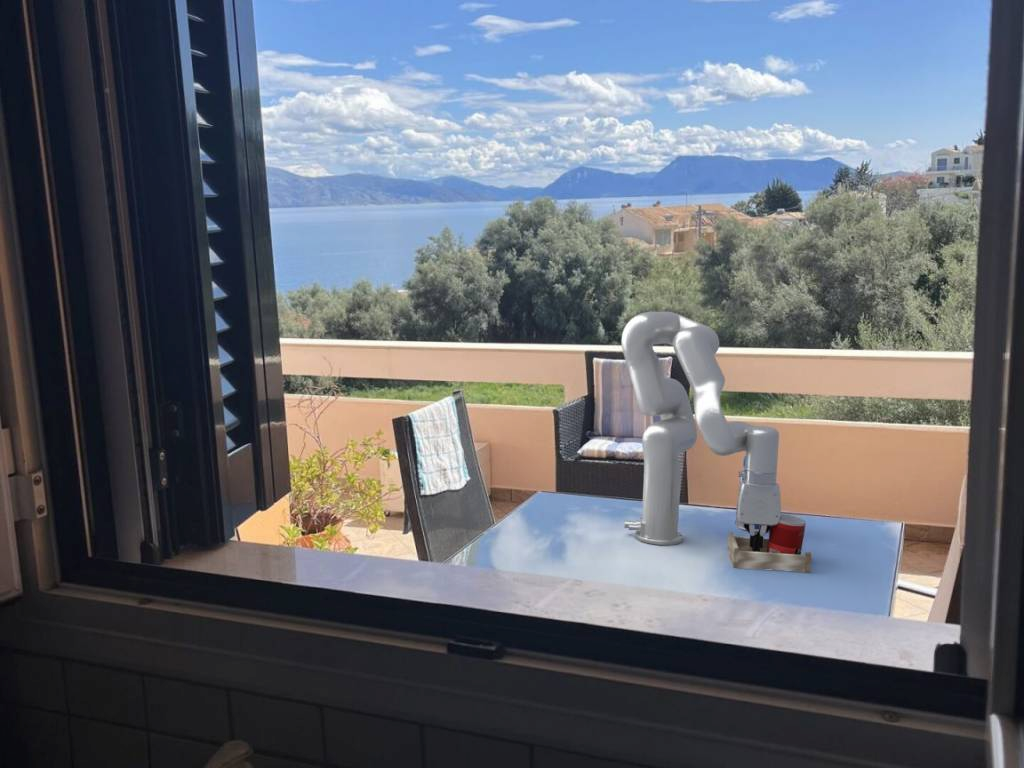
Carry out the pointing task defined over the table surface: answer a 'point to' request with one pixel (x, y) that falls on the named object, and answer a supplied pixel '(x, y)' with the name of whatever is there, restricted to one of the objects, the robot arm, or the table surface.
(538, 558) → the table surface
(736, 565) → the wooden frame
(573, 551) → the table surface
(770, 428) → the robot arm
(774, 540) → the canned food
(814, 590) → the table surface
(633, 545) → the table surface
